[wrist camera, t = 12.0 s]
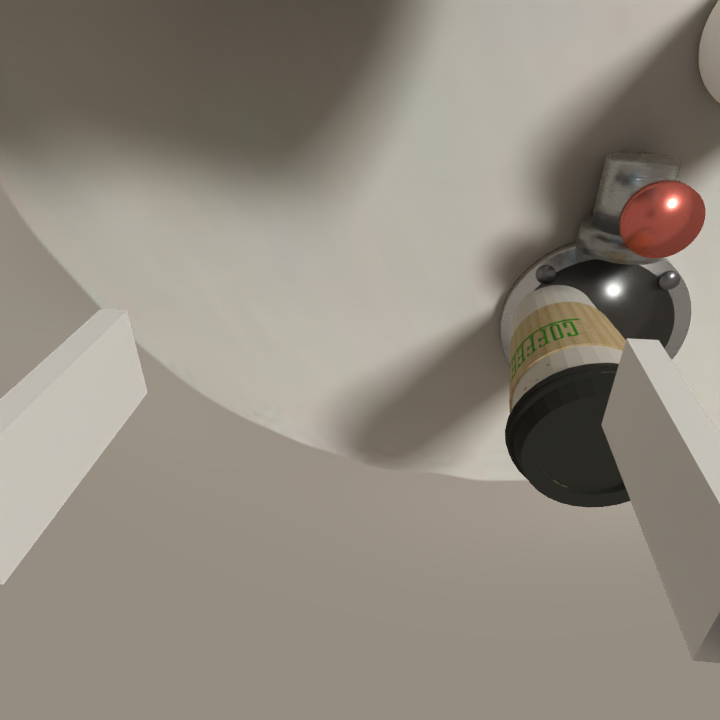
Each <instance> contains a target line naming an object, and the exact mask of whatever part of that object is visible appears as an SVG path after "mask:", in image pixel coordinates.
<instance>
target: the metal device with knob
mask: <svg viewBox="0 0 720 720" xmlns="http://www.w3.org/2000/svg"><path fill="white" fill-rule="evenodd" d="M680 164H681V162H680V161H679V160H677V159H674V158H671V157H668V156H663V155H658V154H651V153H641V152H617V153H611V154H608V155H607V156H606V159H605V163H604V167H603V172H602V176H601V181H600V185H599V190H598V194H597V198H596V203H595V207H594V212H593V215H589V216H586V217H584V218H582V219H581V221H580V226H579V230H578V235H577V239H576V242H575V243H571V244H568V245H566V246H563V247H560V248H558V249H556V250H554V251H552V252H550V253H548V254H547V255H545V256H544V257H542V258H541V259H539V260H538V261H536V262H535V263H534V264H533V265H532V266H530V267H529V268H528V269H527V270H526V271H525V272H524V273H523V274H522V275H521V276H520V277H519V279H518V280H517V281H516V283H515V284H514V286H513V287H512V289H511V290H510V292H509V294H508V296H507V298H506V300H505V303H504V306H503V309H502V313H501V318H500V337H501V342H502V347H503V351H504V354H505V356H506V359H507V361H508V363H509V365H510V344H511V339H512V318H513V314H514V312H515V310H516V308H517V306H518V305H519V303H520V302H521V301H522V300H523V299H524V298H525V297H526V296H527V295H529V294H530V293H532V292H533V291H535V290H538V289H540V288H543V287H546V286H552V285H566V286H570V287H574V288H576V289H578V290H580V291H581V292H583V293H584V294H585V295H586V296H587V297H588V298H589V299H590V301H591V302H592V303H593V304H594V305H595V307H596V308H597V309H598V310H599V311H600V312H602V313H603V314H604V315H605V316H606V317H607V318H608V319H609V321H610V322H611V323H612V324H613V325H614V327H615V328H616V329H617V330H618V331H619V333H620V334H621V335H622V336H623V338H624V339H625V340H626V338H630V339H648V340H659V341H660V343H661V345H662V346H663V348H664V349H665V351H666V352H667V354H668V355H669V357H670V358H671V360H672V359H673V358H674V356H675V355H676V354H677V352H678V351H679V349H680V347H681V346H682V344H683V342H684V340H685V337H686V335H687V332H688V329H689V325H690V319H691V301H690V296H689V292H688V289H687V287H686V284H685V282H684V280H683V279H682V277H681V276H680V274H679V273H678V271H677V270H676V269H675V268H674V267H673V266H672V265H671V264H670V263H669V261H668V260H667V259H666V258H664V257H668V256H671V255H673V254H676V253H678V252H680V251H681V250H683V249H684V248H686V247H687V246H688V245H689V244H690V243H692V241H693V240H694V239H695V238H696V237H697V235H698V234H699V232H700V230H701V229H702V226H703V224H704V220H705V205H704V202H703V200H702V198H701V196H700V195H699V194H698V193H697V192H696V191H695V190H694V189H692V188H691V187H690V186H688V185H686V184H685V183H682V182H680V181H676V178H677V174H678V171H679V168H680Z"/></svg>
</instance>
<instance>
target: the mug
mask: <svg viewBox="0 0 720 720" xmlns="http://www.w3.org/2000/svg"><path fill="white" fill-rule="evenodd" d="M699 70H700V74H701V78H702V80H703V83H704V85H705V87H706V88H707V90H708V91H709V93H710V94H711V95H712V97H713V98H714V99H715V100H716V101H717V102H719V103H720V0H718V2H717V3H716V5H715V6H714V8H713V10H712V12H711V13H710V15H709V17H708V19H707V22H706V24H705V27H704V29H703V33H702V36H701V40H700V46H699Z"/></svg>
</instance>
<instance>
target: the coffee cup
mask: <svg viewBox="0 0 720 720" xmlns="http://www.w3.org/2000/svg"><path fill="white" fill-rule="evenodd" d="M625 342H626V340H625V339H624V338H623V336H622V335H621V334H620V333H619V331H618V330H617V329H616V328H615V327H614V325H613V324H612V323H611V322H610V321H609V319H608V318H607V317H606V316H605V315H604V314H603V313H602V312H600V311H599V310H598V309H597V308H596V307H595V305H594V304H593V303H592V302H591V301H590V299H589V298H588V297H587V296H586V295H585V294H584V293H583V292H581V291H580V290H578V289H576V288H574V287H570V286H566V285H552V286H546V287H543V288H540V289H538V290H535V291H533V292H532V293H530V294H529V295H527V296H526V297H525V298H524V299H523V300H522V301H521V302H520V303H519V305H518V306H517V308H516V310H515V312H514V314H513V318H512V339H511V344H510V415H509V417H508V421H507V425H506V429H505V439H506V445H507V449H508V452H509V455H510V457H511V459H512V461H513V462H514V464H515V466H516V467H517V469H518V470H519V471H520V472H521V473H522V474H523V475H524V476H525V477H526V478H527V479H528V480H529V482H530V483H531V484H532V485H533V486H534V487H535V488H536V489H537V490H538V491H539V492H541V493H542V494H544V495H546V496H547V497H548V498H551V499H553V500H556V501H558V502H560V503H564V504H569V505H572V506H582V507H604V506H611V505H617V504H621V503H624V502H627V501H631V500H630V497H629V495H628V492H627V490H626V487H625V485H624V482H623V479H622V477H621V474H620V472H619V469H618V466H617V464H616V461H615V459H614V456H613V453H612V451H611V448H610V446H609V443H608V441H607V438H606V435H605V433H604V430H603V428H602V425H601V424H602V421H603V418H604V414H605V411H606V407H607V404H608V400H609V397H610V393H611V390H612V387H613V383H614V380H615V376H616V373H617V369H618V366H619V362H620V359H621V356H622V352H623V349H624V345H625Z"/></svg>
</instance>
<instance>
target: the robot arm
mask: <svg viewBox="0 0 720 720" xmlns="http://www.w3.org/2000/svg"><path fill="white" fill-rule="evenodd" d="M146 394H147V389H146V385H145V381H144V377H143V373H142V369H141V365H140V361H139V357H138V353H137V349H136V345H135V341H134V337H133V333H132V329H131V325H130V321H129V317H128V313H127V311H124V310H106V309H100V310H99V311H98V312H97V313H96V314H95V315H93V316H92V317H91V318H90V319H89V320H88V321H87V322H86V323H85V324H83V325H82V326H81V327H80V328H79V329H78V330H77V331H76V332H75V333H73V334H72V335H71V336H70V337H69V338H68V339H67V340H66V341H65V342H64V343H62V344H61V345H60V346H59V347H58V348H57V349H56V350H54V351H53V352H52V353H51V354H50V355H49V356H48V357H47V358H46V359H45V360H44V361H42V362H41V363H40V364H39V365H38V366H37V367H36V368H35V369H33V370H32V371H31V372H30V373H29V374H28V375H27V376H26V377H24V378H23V379H22V380H21V381H20V382H19V383H18V384H17V385H16V386H15V387H13V388H12V389H11V390H10V391H9V392H8V393H7V394H5V395H4V396H3V397H2V398H1V399H0V584H4V583H5V582H6V580H7V579H8V578H9V576H10V575H11V574H12V572H13V571H14V570H15V568H16V567H17V566H18V564H19V563H20V562H21V560H22V559H23V557H24V556H25V555H26V554H27V552H28V551H29V550H30V548H31V547H32V546H33V544H34V543H35V542H36V540H37V539H38V538H39V536H40V535H41V533H42V532H43V531H44V530H45V528H46V527H47V526H48V524H49V523H50V522H51V520H52V519H53V518H54V516H55V515H56V514H57V512H58V511H59V510H60V508H61V507H62V506H63V504H64V503H65V502H66V500H67V499H68V498H69V497H70V495H71V494H72V493H73V491H74V490H75V488H76V487H77V486H78V485H79V483H80V482H81V481H82V479H83V478H84V477H85V475H86V474H87V473H88V471H89V470H90V469H91V467H92V466H93V465H94V463H95V462H96V461H97V459H98V458H99V457H100V455H101V454H102V453H103V451H104V450H105V449H106V447H107V446H108V445H109V443H110V442H111V441H112V439H113V438H114V437H115V435H116V434H117V433H118V431H119V430H120V429H121V427H122V426H123V425H124V423H125V422H126V421H127V419H128V418H129V417H130V415H131V414H132V413H133V411H134V410H135V409H136V407H137V406H138V405H139V403H140V402H141V401H142V399H143V398H144V397H145V395H146ZM601 425H602V428H603V430H604V433H605V435H606V438H607V441H608V443H609V446H610V448H611V451H612V453H613V456H614V459H615V461H616V464H617V466H618V469H619V472H620V474H621V477H622V479H623V482H624V485H625V487H626V490H627V492H628V495H629V497H630V500H631V503H632V505H633V508H634V510H635V513H636V516H637V518H638V521H639V523H640V526H641V528H642V531H643V534H644V536H645V539H646V541H647V544H648V547H649V549H650V552H651V554H652V557H653V559H654V562H655V565H656V567H657V570H658V572H659V575H660V578H661V580H662V583H663V585H664V588H665V590H666V593H667V596H668V598H669V601H670V603H671V606H672V609H673V611H674V613H675V616H676V619H677V621H678V624H679V627H680V629H681V632H682V634H683V637H684V640H685V642H686V645H687V647H688V650H689V652H690V655H691V658H692V660H695V661H705V662H714V663H720V433H719V431H718V430H717V428H716V427H715V425H714V424H713V422H712V421H711V419H710V418H709V416H708V415H707V413H706V412H705V410H704V409H703V407H702V406H701V404H700V402H699V401H698V399H697V398H696V396H695V395H694V393H693V392H692V390H691V389H690V387H689V386H688V384H687V383H686V381H685V380H684V378H683V377H682V375H681V374H680V372H679V370H678V369H677V367H676V366H675V364H674V363H673V361H672V360H671V358H670V357H669V355H668V354H667V352H666V351H665V349H664V348H663V346H662V345H661V343H660V341H659V340H648V339H630V338H626V342H625V345H624V349H623V352H622V356H621V359H620V362H619V366H618V369H617V373H616V376H615V380H614V383H613V387H612V390H611V393H610V397H609V400H608V404H607V407H606V411H605V414H604V418H603V421H602V424H601Z"/></svg>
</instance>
